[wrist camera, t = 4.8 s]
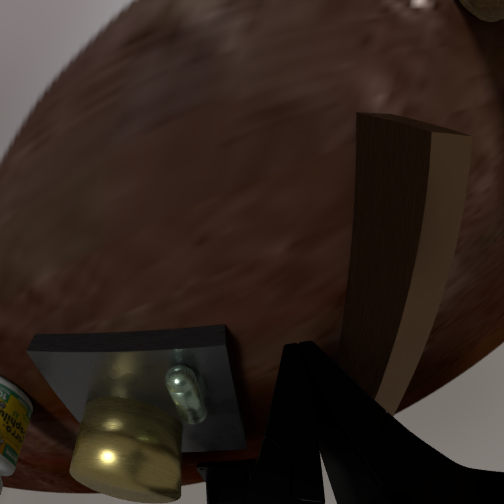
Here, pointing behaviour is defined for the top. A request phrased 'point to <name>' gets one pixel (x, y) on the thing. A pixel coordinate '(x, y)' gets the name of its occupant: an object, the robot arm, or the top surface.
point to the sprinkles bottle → (485, 9)
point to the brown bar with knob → (400, 247)
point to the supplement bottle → (12, 425)
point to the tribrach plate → (147, 375)
